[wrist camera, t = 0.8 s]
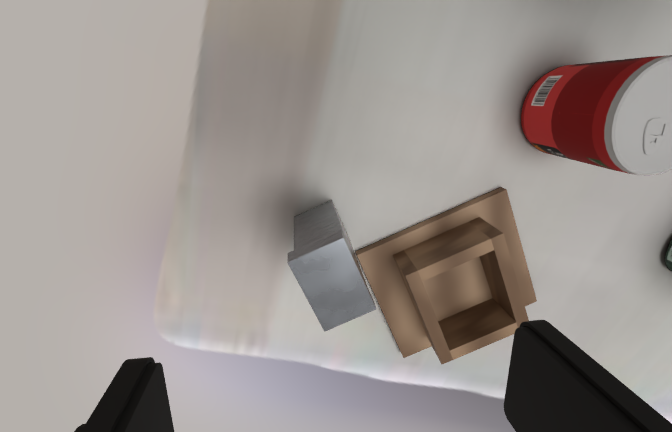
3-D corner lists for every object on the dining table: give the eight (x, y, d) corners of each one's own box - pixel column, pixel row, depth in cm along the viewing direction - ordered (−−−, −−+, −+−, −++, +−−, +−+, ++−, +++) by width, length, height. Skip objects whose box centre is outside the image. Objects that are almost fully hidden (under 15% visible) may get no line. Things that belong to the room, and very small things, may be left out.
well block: (501, 187, 37) (534, 202, 32) (531, 296, 42) (564, 325, 37) (355, 251, 38) (365, 276, 32) (401, 352, 42) (416, 388, 37)
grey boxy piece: (327, 190, 35) (343, 237, 24) (351, 243, 37) (376, 309, 26) (289, 207, 35) (287, 262, 24) (315, 258, 37) (324, 331, 26)
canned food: (520, 160, 36) (610, 188, 26) (515, 76, 34) (613, 69, 23) (593, 142, 37) (712, 162, 26) (594, 56, 34) (727, 41, 24)
